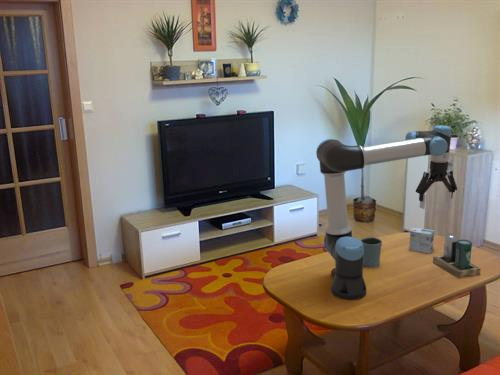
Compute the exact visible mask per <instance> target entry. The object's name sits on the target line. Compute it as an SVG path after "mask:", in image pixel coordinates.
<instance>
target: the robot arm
mask: <svg viewBox="0 0 500 375" xmlns="http://www.w3.org/2000/svg"><path fill="white" fill-rule="evenodd" d="M451 140H452V128H451V126H449V125H440V124H437V125H434V126H433V129H432V130H414V131H408V132H407V133H406V135H405V139H404V140H399V141H392V142H386V143H380V144H374V145H373V144H372V145H367V146H361V145H360V144H359V145H358V144H357V145H346V144H344V143H343V142H341V141H340V140H338V139H335V138H327V139H325V140H322V141H321V142H320V143H319V145H317V148H316V151H315V152H316V158H317V160H318V161H319V173H321V174H322V175H323V177H324V178H323V179H324V188H325V189H324V190H325V200H326V213H327V215H326V216H327V224H328V226H327V227H326V228H325V234H324V238H323V244H324V248H325V249H326V251H327V252H328V254H329V255H330V256H331V257H332V258H333V259H334V261H335V265H334V266H335V267H334V268H335V277H334V276H333V280H332V283H331V285H330V293H331V294H332V295H333V296H334V297H335V298H338V299H341V300H348V301H351V300H352V301H354V300H360V299H362V298H364V297H365V296H367V295H366V294H367V286H366V283H365V279H364V274H363V272H364V266H363V255H364V248H363V243H362V242H361V239H359V238H355V237H353V233H352V232H353V230H352V227H351V226H350V225H349V224H348V220H349V219H348V208H347V195H346V183H345V182H346V180H345V174H346V173H347V172H350V171H355V170H362V169H364V168H365V167H366V166H370V165H376V164H383V163H389V162H394V161H400V160H407V159H412V158H418V157H424V156H425V157H426V156H430V163H429V172H428V171H427V172H426V171H424V172H423V173H422V178H421V179H420V181H419V183H418V185H417V187H416V189H415V193H417V194H419V195H418V201H419V208H421V209H423V210H425V209H426V208H425V207H426V198H427V194H426V192H427V191H428V190H429V189H430V187H431V186H433V184H435V183H438V182H442V183H443V185H444V186H445V188H446V189H447V190H446V193H445V204H444V205H445V206H447V207H451V206H452V205H451V202H452V199H453V195H454V193H455V192H456V191H458V187H457V183H456V181H455V176H454V171H453V170H450V169H449V162H448V161H449V159H450V158H449V157H450V149H451Z"/></svg>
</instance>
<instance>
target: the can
mask: <svg viewBox="0 0 500 375" xmlns="http://www.w3.org/2000/svg"><path fill="white" fill-rule="evenodd" d="M472 246H473V243H472V241H470V239H469V240H468V239H459V240H458V241H457V247H456V259H455V267H456V268H458V269H460V270H466V269H470V263H471V255H472V249H473V247H472Z"/></svg>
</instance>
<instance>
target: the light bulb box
mask: <svg viewBox="0 0 500 375" xmlns="http://www.w3.org/2000/svg"><path fill="white" fill-rule="evenodd" d="M409 234H410V235H409V251H412V252H413V251H414V252H419V253H425V254H431V253H432V251H433V249H434V238H435V236H434V235H435V229H434V230H433V229H427V228H419V227H416V226H415V227H413V228H412V229H410V233H409Z"/></svg>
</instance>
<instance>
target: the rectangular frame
mask: <svg viewBox="0 0 500 375" xmlns="http://www.w3.org/2000/svg"><path fill="white" fill-rule="evenodd" d="M443 258H444V254H443V255H442V254H441V255H436V256H433V257H432V263H433V264H435V265H436V266H438V267H440V268H442V269H443V270H444V271H446V272H448V273H450V274H451V275H452V276H455V277H456V278H457V279H463V278H468V277H475V276H479V275H481V270H482V268H480V267H479V266H477V265H475V264H473V263H471V262H470V269H466V270H460V269H458V268H456V267H455V262H451V263H448V262H446V261H444V260H443Z"/></svg>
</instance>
